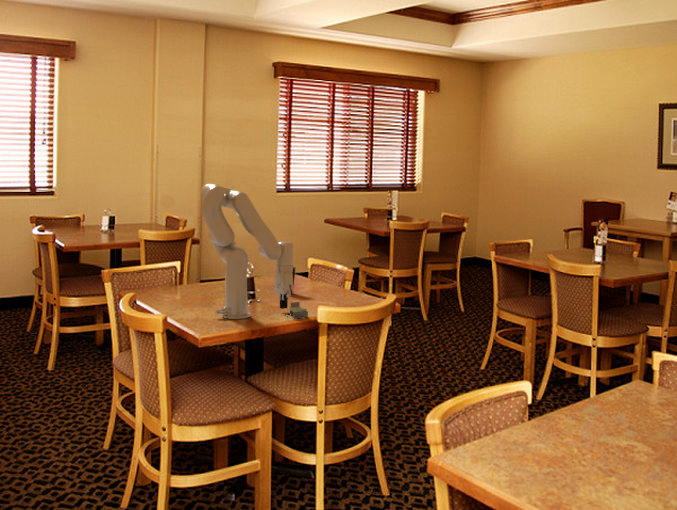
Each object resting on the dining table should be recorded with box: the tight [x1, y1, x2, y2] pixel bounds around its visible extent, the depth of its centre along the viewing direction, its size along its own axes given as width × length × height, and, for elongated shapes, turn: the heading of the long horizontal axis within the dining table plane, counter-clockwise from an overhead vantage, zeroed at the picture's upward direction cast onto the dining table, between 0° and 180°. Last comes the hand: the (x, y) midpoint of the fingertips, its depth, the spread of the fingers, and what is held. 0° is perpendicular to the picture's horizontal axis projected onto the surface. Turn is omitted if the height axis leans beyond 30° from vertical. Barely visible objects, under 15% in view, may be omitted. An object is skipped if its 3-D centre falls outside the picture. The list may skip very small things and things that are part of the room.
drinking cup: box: [292, 266, 297, 295], centre depth 356 cm, size 8×8×20 cm
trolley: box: [289, 301, 308, 315], centre depth 310 cm, size 7×6×6 cm
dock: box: [285, 310, 309, 320], centre depth 310 cm, size 7×10×3 cm
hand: (283, 308), depth 317 cm, fingers closed
